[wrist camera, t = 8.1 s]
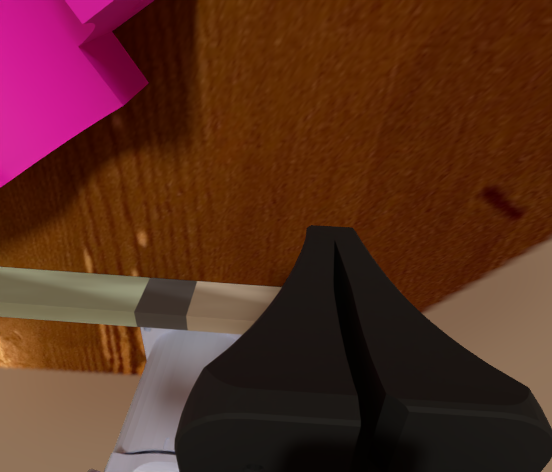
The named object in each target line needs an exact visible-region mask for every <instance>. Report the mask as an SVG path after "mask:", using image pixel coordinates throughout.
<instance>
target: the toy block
mask: <svg viewBox="0 0 552 472" xmlns="http://www.w3.org/2000/svg"><path fill="white" fill-rule="evenodd" d="M153 1H154V0H0V187H2V186H3V185H5V184H6V183H8V182H9V181H10V180H12V179H13V178H15V177H16V176H17V175H19V174H20V173H22V172H23V171H25V170H26V169H27V168H29V167H30V166H32V165H33V164H34V163H36V162H37V161H39V160H40V159H42V158H43V157H45V156H46V155H47V154H49V153H50V152H52V151H53V150H55V149H56V148H58V147H59V146H61V145H62V144H64V143H65V142H67V141H68V140H70V139H71V138H73V137H74V136H76V135H77V134H79V133H80V132H82V131H83V130H85V129H86V128H88V127H89V126H91V125H93V124H94V123H96V122H97V121H99V120H100V119H102V118H104V117H105V116H107V115H109V114H110V113H112V112H114V111H115V110H117V109H119V108H120V107H122V106H124V105H125V104H126V103H127V102H128V101H129V100H130V99H132V98H133V97H134V96H135V95H136V94H137V93H138V92H139V91H141V90H142V89H143V88H144V87H145V86H146V85H147V84H148V83H149V82H148V81H147V80H146V78H145V77H144V75H143V74H142V73H141V71H140V70H139V68H138V67H137V66H136V64H135V63H134V61H133V60H132V59H131V57H130V56H129V54H128V53H127V52H126V50H125V49H124V47H123V46H122V45H121V43H120V42H119V40H118V39H117V38H116V36H115V35H114V33H113V32H112V31H113V30H115V29H116V28H117V27H119V26H120V25H122V24H123V23H124V22H126V21H127V20H128V19H130V18H131V17H132V16H134V15H135V14H137V13H138V12H139V11H141V10H142V9H143V8H145V7H146V6H147V5H149V4H150V3H152V2H153Z"/></svg>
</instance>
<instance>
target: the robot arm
mask: <svg viewBox="0 0 552 472" xmlns="http://www.w3.org/2000/svg"><path fill="white" fill-rule="evenodd" d="M140 329H141V334H142V338H143V343H144V348H145V353H146V358H147V363H146V366H145V368H144V371H143V374H142V376H141V379H140V382H139V384H138V387H137V389H136V392H135V395H134V397H133V400H132V403H131V406H130V408H129V411H128V414H127V416H126V419H125V422H124V424H123V427H122V429H121V432H120V435H119V437H118V440H117V443H116V446H115V448H114V451H113V453H111V456H110V458H109V460H108V463H107V465H106V468H105V470H104V472H541V471H542V470H543V468H544V467H545V466H546V465H547V463H548V462H549V461H550V459H551V457H552V429H551V426H550V425H549V422H548V420H547V418H546V417H545V414H544V412H543V410H542V409H541V407H540V405H539V403H538V402H537V400H536V399H535V397H534V395H533V394H532V393H531V390H530V389H529V388H528V387H527V386H525V385H523V384H522V383H520V382H518V381H516V380H515V379H513V378H511V377H509V376H508V375H506V374H505V373H503V372H501V371H499V370H498V369H496V368H494V367H493V366H491V365H489V364H488V363H486V362H485V361H483V360H482V359H480V358H478V357H477V356H476V355H474V354H473V353H471V352H470V351H468V350H467V349H465V348H464V347H463V346H461V345H460V344H459V343H457V342H456V341H454V340H453V339H452V338H450V337H449V336H448V335H447V334H445V333H444V332H443V331H442V330H440V329H439V328H438V327H437V326H435V325H434V324H433V323H432V322H430V320H428V319H427V318H426V317H425V316H424V315H423V314H422V313H421V312H420V311H418V310H417V309H416V308H415V307H414V306H413V305H412V304H411V303H410V302H409V301H408V300H407V299H406V298H405V297H404V296H403V295H402V294H401V292H400V291H399V290H398V289H397V288H396V287H395V286H394V284H393V283H392V282H391V281H390V280H389V278H388V277H387V276H386V275H385V274H384V272H383V271H382V270H381V268H380V267H379V266H378V264H377V263H376V262H375V260H374V259H373V258H372V256H371V255H370V253H369V252H368V250H367V249H366V247H365V246H364V244H363V243H362V241H361V240H360V238H359V237H358V235H357V233H356V232H355V230H354V229H353V228H349V227H331V226H313V225H311V226H309V227H308V228H307V232H306V239H305V242H304V245H303V248H302V250H301V253H300V255H299V257H298V259H297V261H296V264H295V266H294V268H293V269H292V271H291V273H290V275H289V276H288V278H287V280H286V282H285V283H284V285H283V286H282V288H281V290H280V291H279V293H278V294H277V295H276V297H275V298H274V299H273V301H272V302H271V304H270V305H269V306H268V307H267V309H266V310H265V311H264V312H263V313H262V315H261V316H260V317H259V318H258V319H257V320H256V321H255V323H254V324H253V325H252V326H251V327H250V328H249V329H248V330H247V331H246V332H245V333H244V334H243V335H241V334H228V333H214V332H201V331H188V330H174V329H161V328H147V327H140ZM88 472H99V471H97V470H94V469H90V470H88Z"/></svg>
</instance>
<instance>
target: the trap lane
mask: <svg viewBox="0 0 552 472" xmlns="http://www.w3.org/2000/svg"><path fill="white" fill-rule="evenodd" d="M281 288H282V287H270V286H256V285H242V284H228V283H214V282H201V281H187V280H173V279H159V278H145V277H132V276H118V275H104V274H90V273H77V272H63V271H49V270H35V269H21V268H8V267H0V317H13V318H27V319H40V320H54V321H67V322H80V323H94V324H107V325H121V326H134V327H147V328H161V329H174V330H188V331H201V332H214V333H228V334H241V335H243V334H244V333H245V332H246V331H247V330H248V329H249V328H250V327H251V326H252V325H253V324H254V323H255V321H256V320H257V319H258V318H259V317H260V316H261V315H262V313H263V312H264V311H265V310H266V309H267V307H268V306H269V305H270V304H271V302H272V301H273V299H274V298H275V297H276V295H277V294H278V293H279V291H280V290H281Z"/></svg>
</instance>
